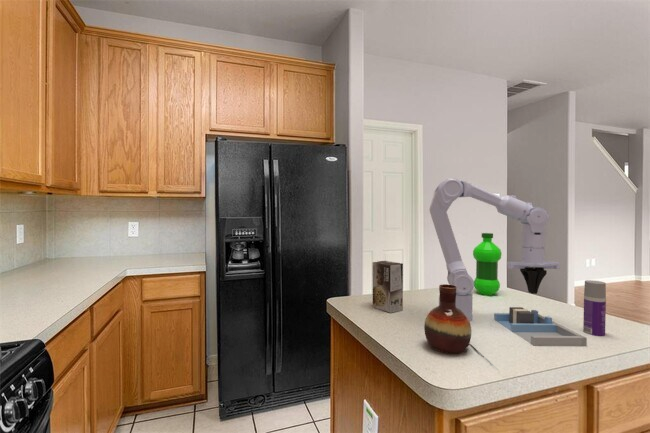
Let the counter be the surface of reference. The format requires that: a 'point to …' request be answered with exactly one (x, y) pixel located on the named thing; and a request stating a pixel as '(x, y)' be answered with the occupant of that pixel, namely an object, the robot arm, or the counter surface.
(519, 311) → the dark striped block
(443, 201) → the robot arm
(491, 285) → the plastic bottle
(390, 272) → the coffee box
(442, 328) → the vase
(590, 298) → the container
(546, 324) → the board
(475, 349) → the counter surface
